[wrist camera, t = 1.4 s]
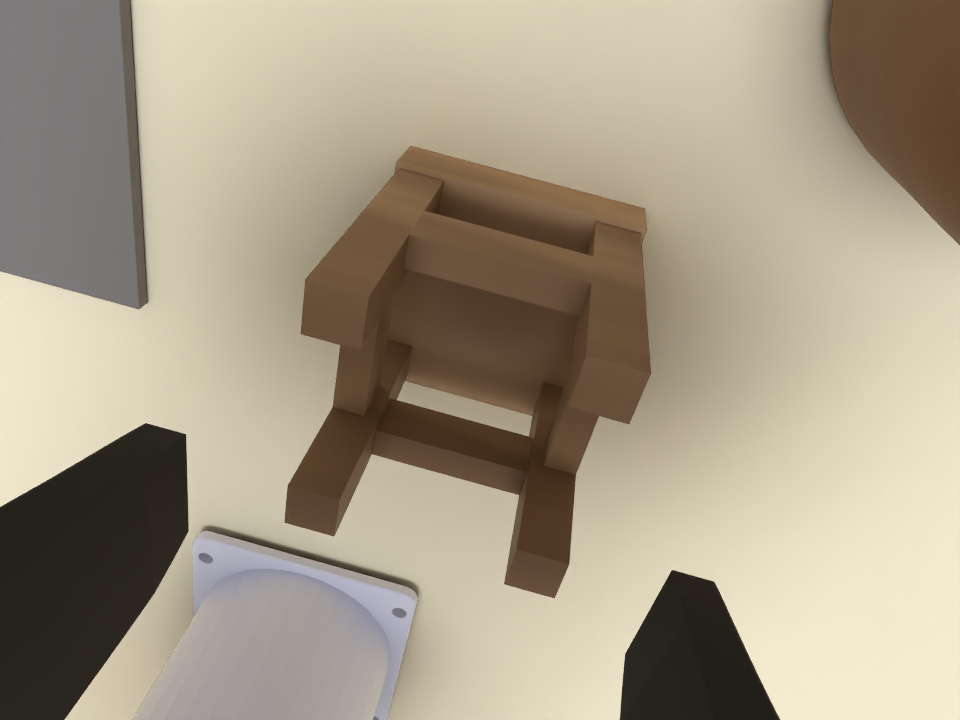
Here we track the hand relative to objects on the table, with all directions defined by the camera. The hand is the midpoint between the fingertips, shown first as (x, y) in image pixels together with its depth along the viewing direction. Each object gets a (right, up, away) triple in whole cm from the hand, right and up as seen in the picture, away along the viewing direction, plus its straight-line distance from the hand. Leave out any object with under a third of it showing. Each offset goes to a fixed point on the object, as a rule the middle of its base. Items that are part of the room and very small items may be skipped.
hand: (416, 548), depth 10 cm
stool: (+1, +5, +8) cm, 9 cm away
